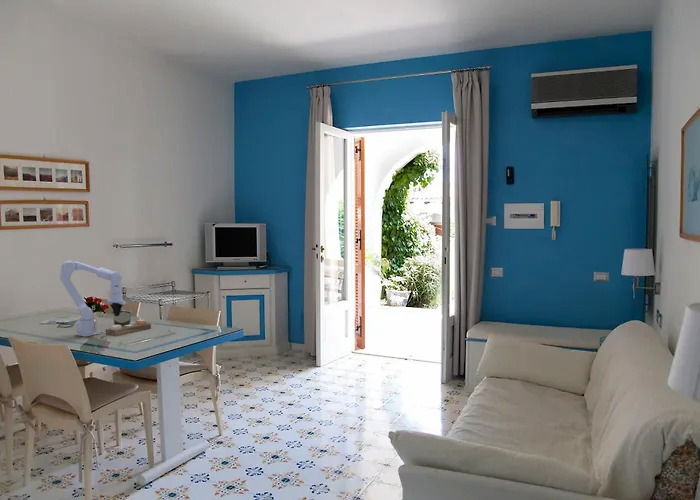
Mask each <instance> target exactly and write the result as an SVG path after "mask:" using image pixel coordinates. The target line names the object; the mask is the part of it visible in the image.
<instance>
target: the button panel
mask: <svg viewBox="0 0 700 500" xmlns="http://www.w3.org/2000/svg"><path fill="white" fill-rule="evenodd" d="M130 325H134V326H133V327H124V326H121V329H118V330H111V327H110V328H106V329H105V335H106V336H113V337H118V336H123V335H127V334H128V335H129V334H133V333H136V332H141V331H145V330H149V329H152V323H150V322H149V323H148V322H146V324H142V325H138V324H136V322H135V323H134V322H133V323H130Z"/></svg>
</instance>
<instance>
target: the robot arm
mask: <svg viewBox="0 0 700 500" xmlns="http://www.w3.org/2000/svg"><path fill="white" fill-rule="evenodd" d="M80 270H82V271H85V272H89V273H92V274H95V275H96V277H97V278H100V279H104V280H107V281H110V299H106V302H107V304H109V306H110V307H111V309H112V310H113V312H114V315H115V316H119V315H120V310H121V309H123V307H124V306H123V305H127V300H124V299H123V298H122V296H123V295H122V280H123V279H122V278H123V277H122V275H121V273H119V272H117V271H114V270H113V269H112V270H111V269H107V267H105V266H103V267H99V268H97V267H95V266H92V265H88V264H86V263H83V262H79V261H76V260H75V261H73V260H71V259H68V260H65V261H64V262H63V263H62V265H61V268H60V276H59V277H60V278H59V280H60V282H61V283H62V285H63V287H64V288H65V289H66V292H68V295H69V296H70V297H71V299H72V301H73V302H74V304H75V306H76V307H77V309H78V310H79V314H80V318H79V319H78V320H77V322H76V333H75V336H81V337H89V336H95V335H98V334H99V332H95V319H94V317H93V316H94V312H93V310H92V308H91V307H89V306H88V305H87V304H86V302H85V300H84V299H83V297H82V296H81V294H80V293H79V291H78V289H77V288H76V286H75V285H74V283H73V282H72V280H71V277H72V274H73V273H74V272H75V271H80Z"/></svg>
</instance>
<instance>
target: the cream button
mask: <svg viewBox="0 0 700 500" xmlns="http://www.w3.org/2000/svg"><path fill="white" fill-rule="evenodd" d="M110 328H111V330H118V329H121V325H110Z"/></svg>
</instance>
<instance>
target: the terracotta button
mask: <svg viewBox="0 0 700 500" xmlns="http://www.w3.org/2000/svg"><path fill="white" fill-rule="evenodd" d="M135 323H136V324H138V325H142V324H146V323H147V320H146V319H138V320H135Z"/></svg>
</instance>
